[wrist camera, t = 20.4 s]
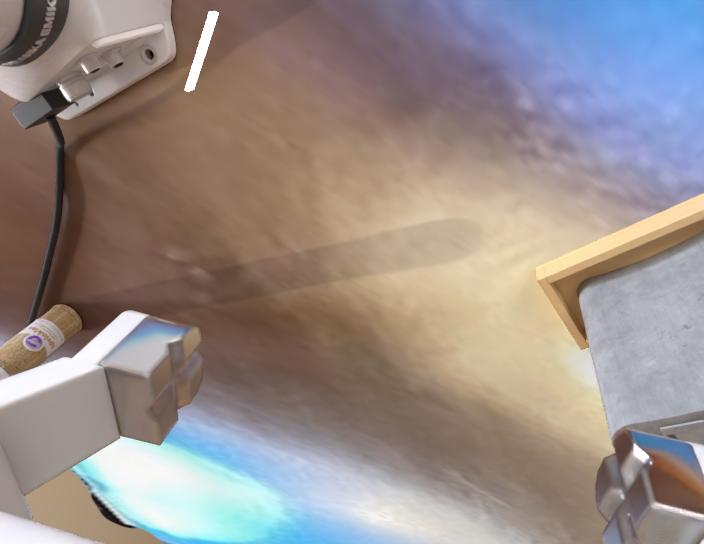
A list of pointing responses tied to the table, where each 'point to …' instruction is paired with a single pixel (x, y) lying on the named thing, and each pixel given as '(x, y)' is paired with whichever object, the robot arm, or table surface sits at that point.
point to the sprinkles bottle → (38, 340)
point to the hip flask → (650, 342)
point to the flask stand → (615, 258)
